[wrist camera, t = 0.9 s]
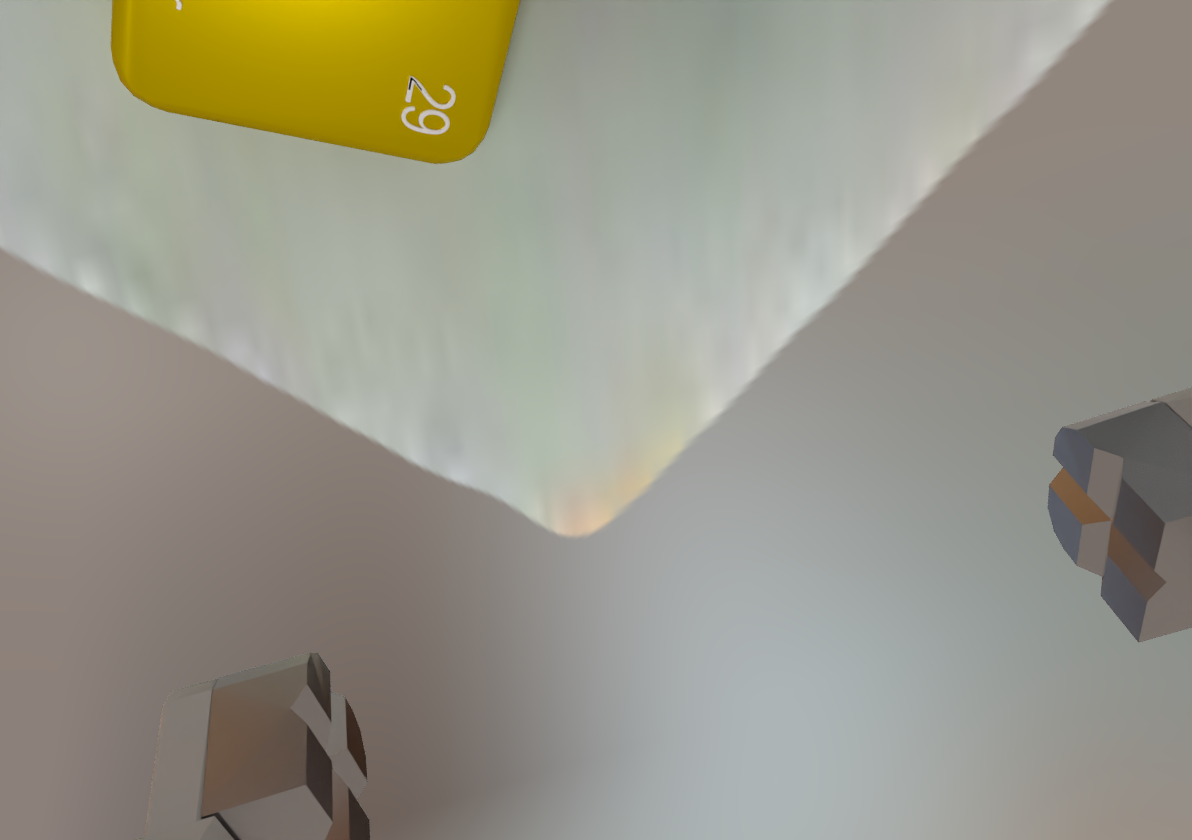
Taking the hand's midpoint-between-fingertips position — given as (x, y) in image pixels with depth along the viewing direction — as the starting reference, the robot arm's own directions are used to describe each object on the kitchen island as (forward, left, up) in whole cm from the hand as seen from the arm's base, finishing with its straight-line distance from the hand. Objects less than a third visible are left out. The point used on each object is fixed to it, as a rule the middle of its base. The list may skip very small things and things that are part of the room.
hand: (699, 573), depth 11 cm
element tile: (+2, -4, -40) cm, 41 cm away
